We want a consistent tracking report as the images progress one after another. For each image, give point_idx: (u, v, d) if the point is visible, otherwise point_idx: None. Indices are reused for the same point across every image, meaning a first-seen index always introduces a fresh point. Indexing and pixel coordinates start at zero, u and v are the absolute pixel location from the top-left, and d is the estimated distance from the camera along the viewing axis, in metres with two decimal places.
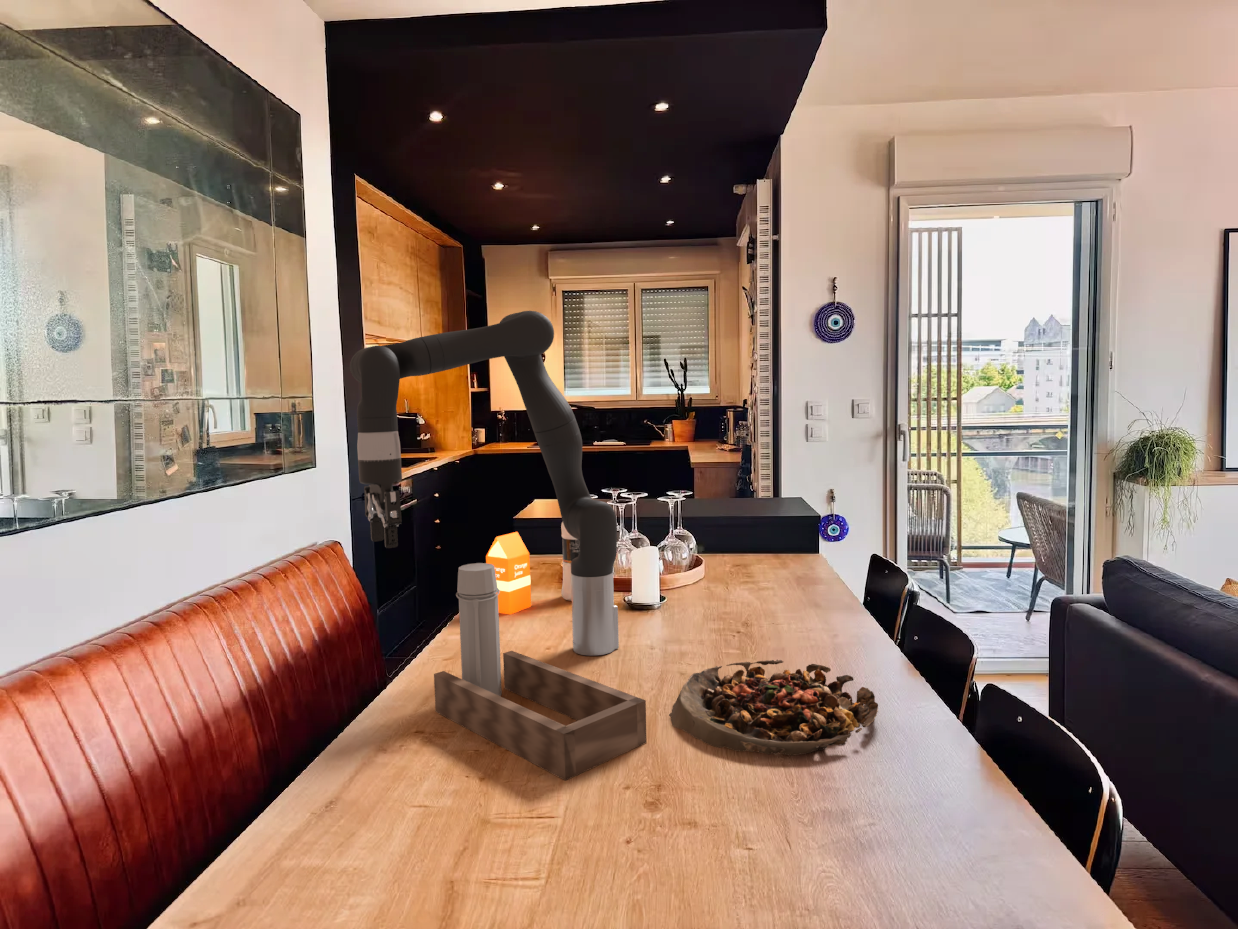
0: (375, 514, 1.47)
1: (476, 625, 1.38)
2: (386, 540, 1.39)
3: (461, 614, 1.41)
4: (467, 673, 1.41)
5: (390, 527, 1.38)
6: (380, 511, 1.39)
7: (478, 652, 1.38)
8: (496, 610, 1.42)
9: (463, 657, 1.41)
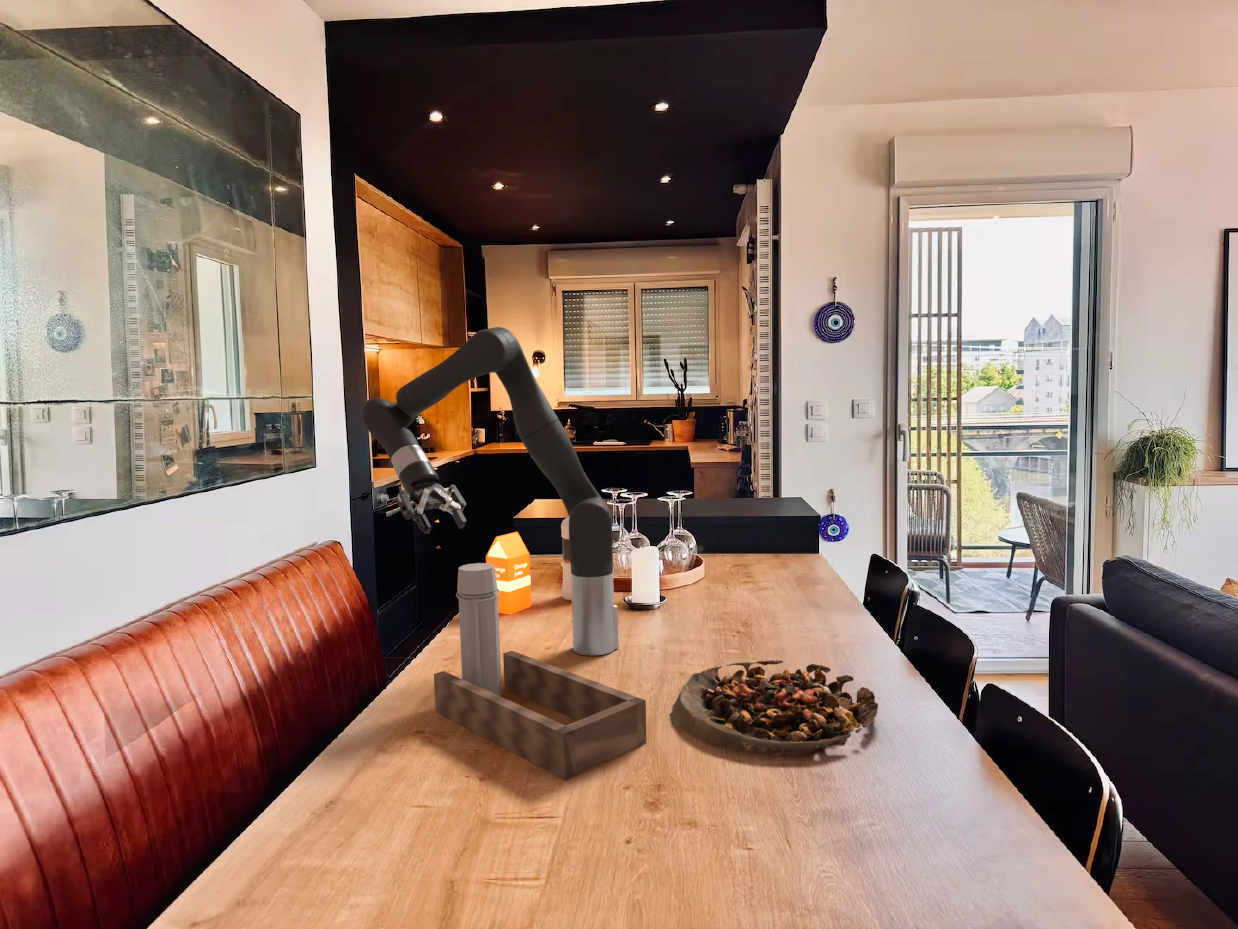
0: None
1: (476, 625, 1.38)
2: None
3: (461, 614, 1.41)
4: (467, 673, 1.41)
5: (415, 518, 1.61)
6: None
7: (478, 652, 1.38)
8: (496, 610, 1.42)
9: (463, 657, 1.41)
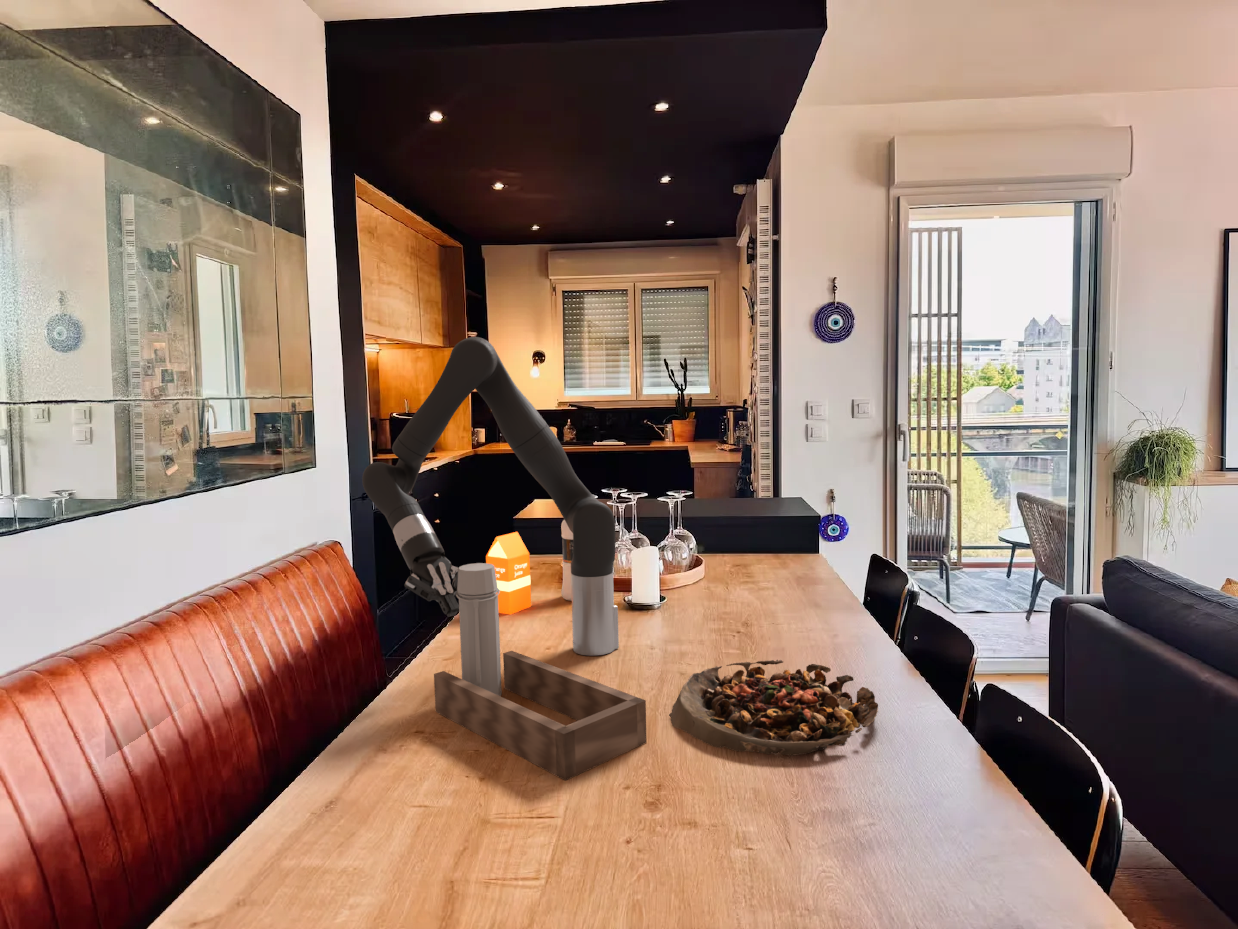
0: None
1: (476, 625, 1.38)
2: None
3: (461, 614, 1.41)
4: (467, 673, 1.41)
5: (437, 600, 1.49)
6: None
7: (478, 652, 1.38)
8: (496, 610, 1.42)
9: (463, 657, 1.41)
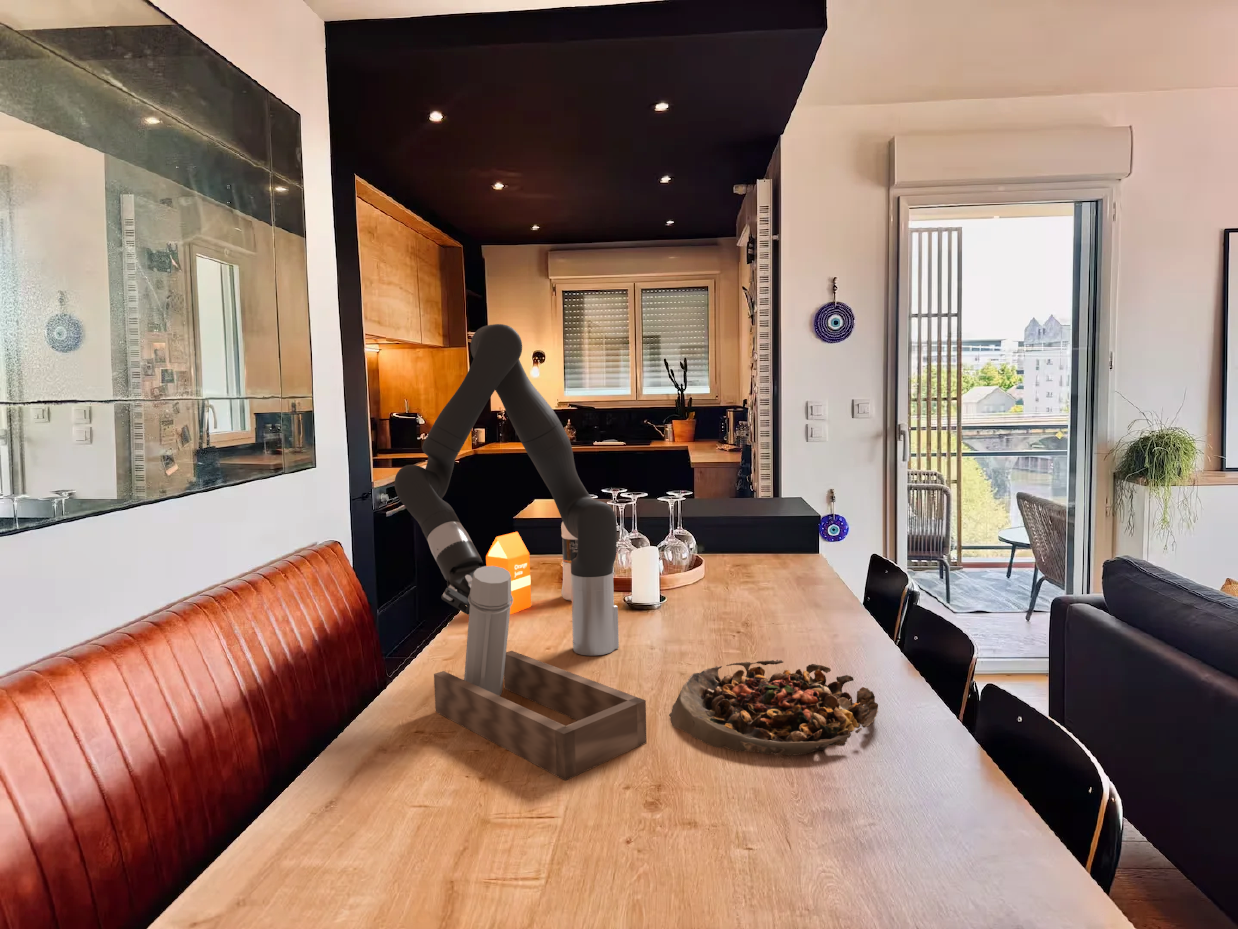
0: None
1: (486, 636, 1.35)
2: None
3: (471, 619, 1.37)
4: (470, 674, 1.39)
5: None
6: None
7: (485, 661, 1.36)
8: (507, 618, 1.38)
9: (468, 658, 1.39)
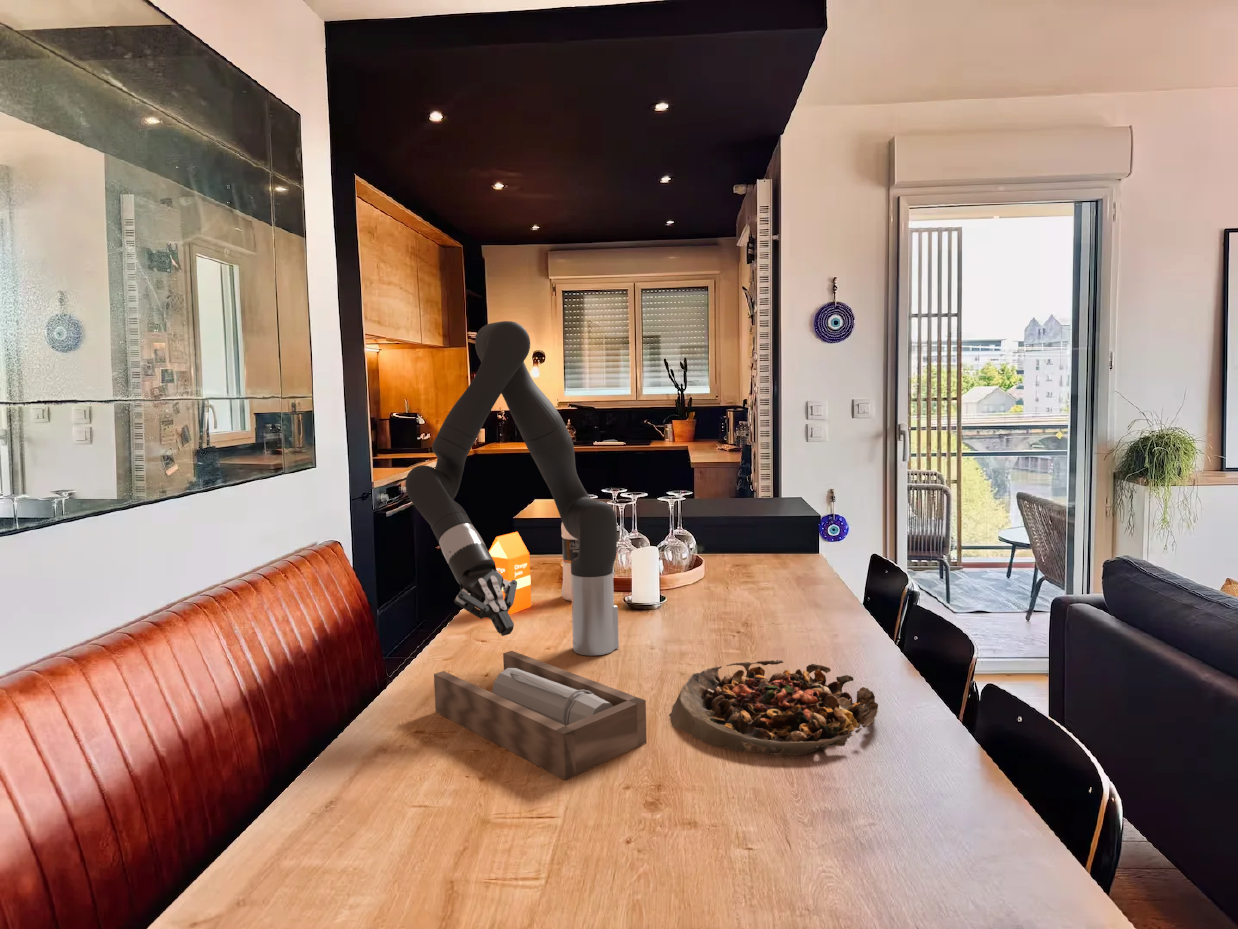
0: None
1: (552, 688, 1.28)
2: None
3: (575, 689, 1.30)
4: (529, 674, 1.37)
5: (490, 617, 1.36)
6: None
7: (531, 680, 1.31)
8: None
9: (543, 678, 1.36)
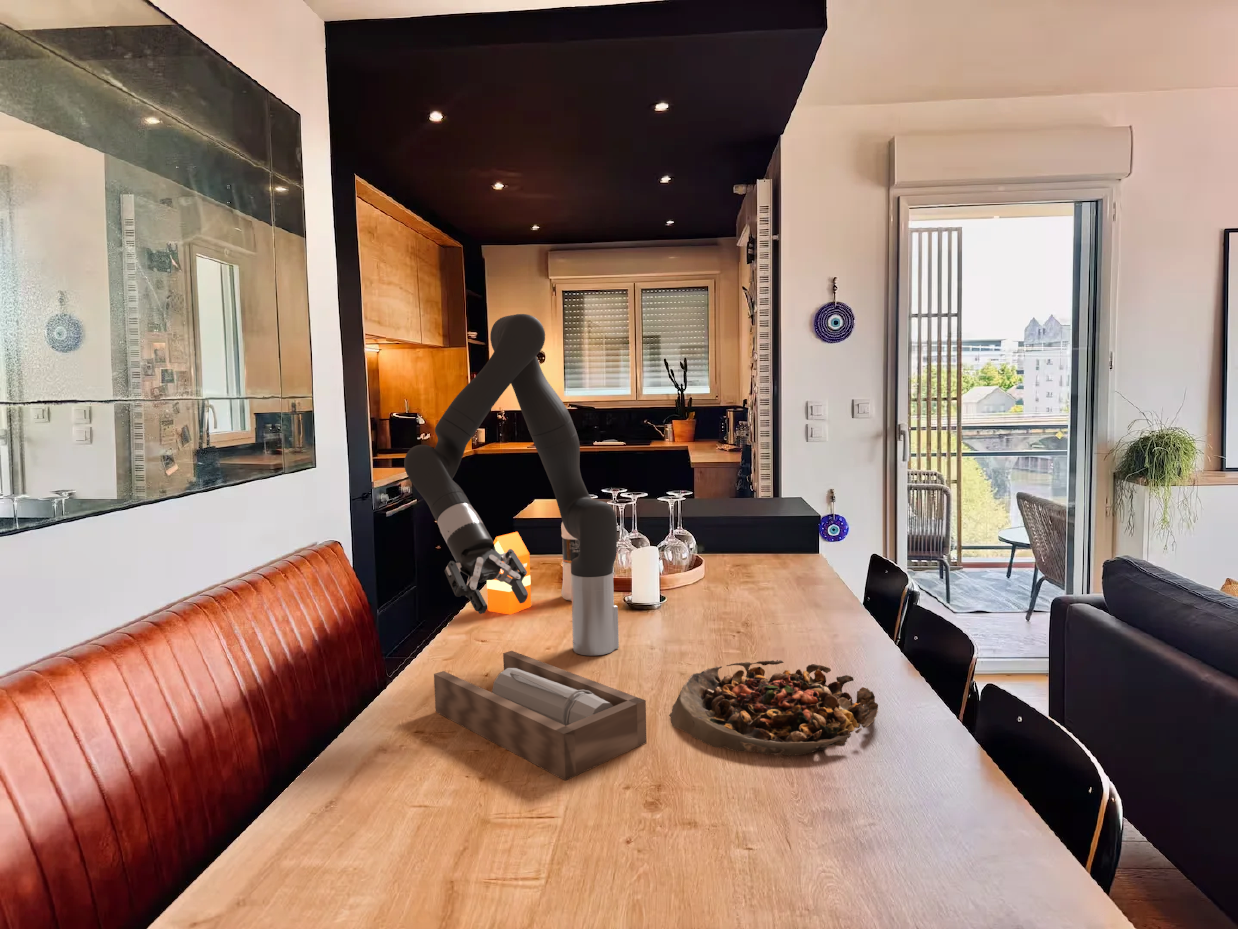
0: None
1: (552, 688, 1.28)
2: None
3: (575, 689, 1.30)
4: (529, 674, 1.37)
5: (467, 595, 1.34)
6: (467, 584, 1.37)
7: (531, 680, 1.31)
8: None
9: (543, 678, 1.36)
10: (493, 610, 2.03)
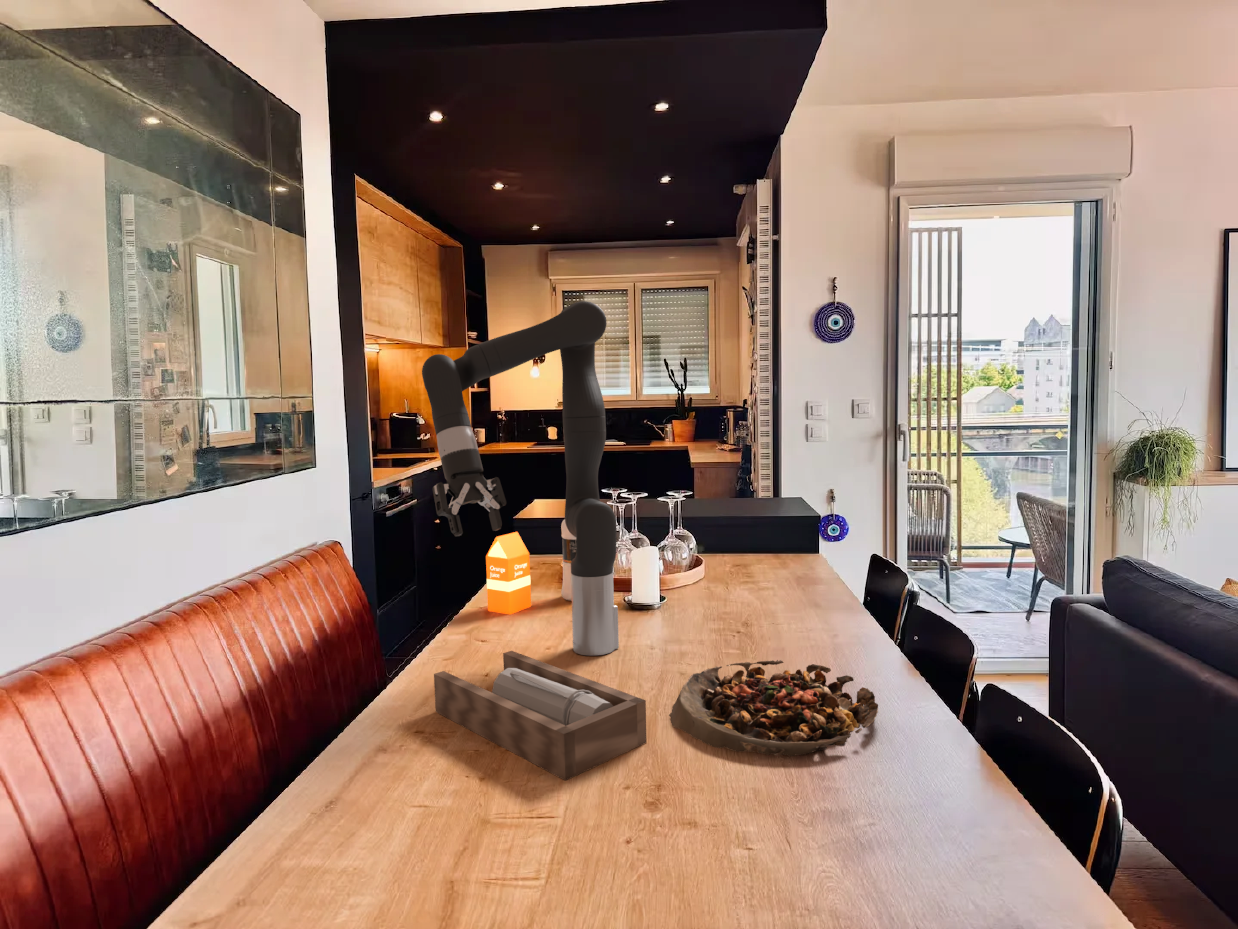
0: None
1: (552, 688, 1.28)
2: None
3: (575, 689, 1.30)
4: (529, 674, 1.37)
5: (447, 517, 1.47)
6: (450, 503, 1.50)
7: (531, 680, 1.31)
8: None
9: (543, 678, 1.36)
10: (493, 610, 2.03)
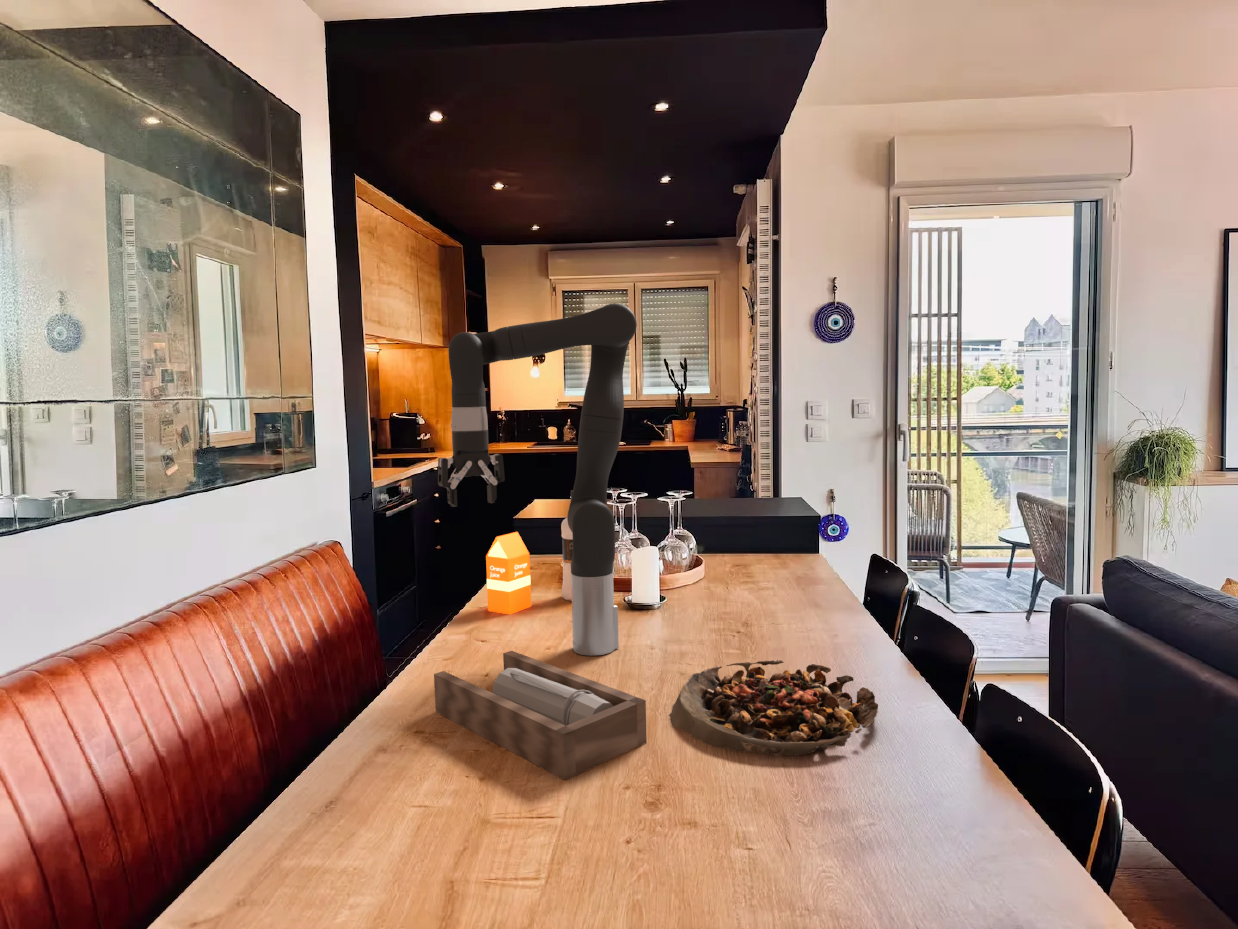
0: None
1: (552, 688, 1.28)
2: None
3: (575, 689, 1.30)
4: (529, 674, 1.37)
5: None
6: (452, 474, 1.64)
7: (531, 680, 1.31)
8: None
9: (543, 678, 1.36)
10: (493, 610, 2.03)
